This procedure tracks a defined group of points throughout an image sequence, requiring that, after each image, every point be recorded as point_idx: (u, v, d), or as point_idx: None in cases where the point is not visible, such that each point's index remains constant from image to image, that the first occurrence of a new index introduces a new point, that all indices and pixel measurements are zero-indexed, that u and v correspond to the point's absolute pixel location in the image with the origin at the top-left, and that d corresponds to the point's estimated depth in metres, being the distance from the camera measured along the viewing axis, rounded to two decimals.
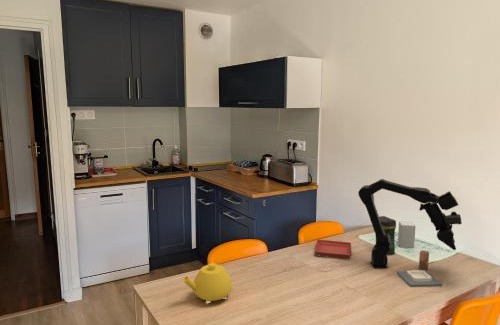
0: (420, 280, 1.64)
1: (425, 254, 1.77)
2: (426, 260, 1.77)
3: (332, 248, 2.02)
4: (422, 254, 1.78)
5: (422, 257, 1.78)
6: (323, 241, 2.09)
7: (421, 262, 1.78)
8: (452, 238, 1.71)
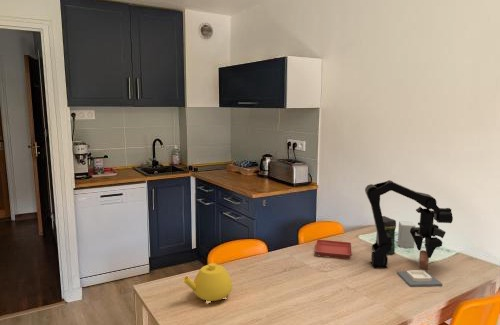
0: (420, 280, 1.64)
1: (425, 254, 1.77)
2: (426, 260, 1.77)
3: (332, 248, 2.02)
4: (422, 254, 1.78)
5: (422, 257, 1.78)
6: (323, 241, 2.09)
7: (421, 262, 1.78)
8: (420, 246, 1.83)
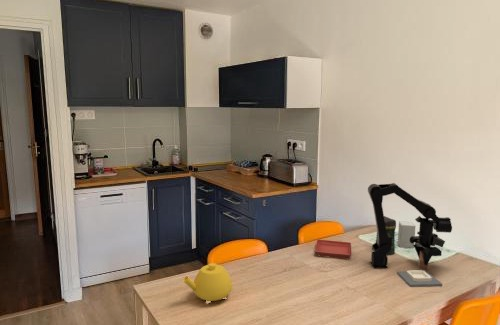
0: (420, 280, 1.64)
1: None
2: None
3: (332, 248, 2.02)
4: None
5: (422, 257, 1.78)
6: (323, 241, 2.09)
7: (421, 262, 1.78)
8: None
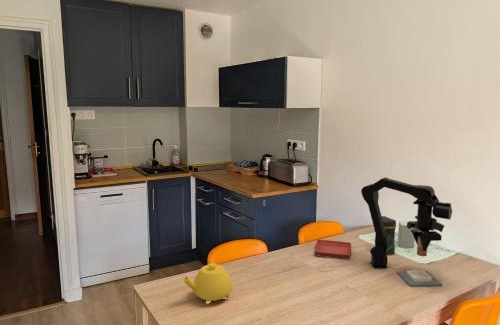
0: (420, 280, 1.64)
1: None
2: None
3: (332, 248, 2.02)
4: None
5: (420, 243, 1.67)
6: (323, 241, 2.09)
7: (419, 248, 1.68)
8: None
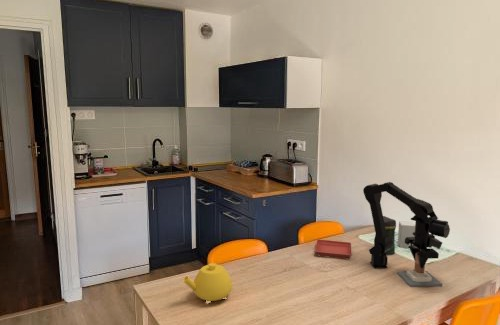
0: (420, 280, 1.64)
1: None
2: None
3: (332, 248, 2.02)
4: None
5: None
6: (323, 241, 2.09)
7: (417, 265, 1.66)
8: None
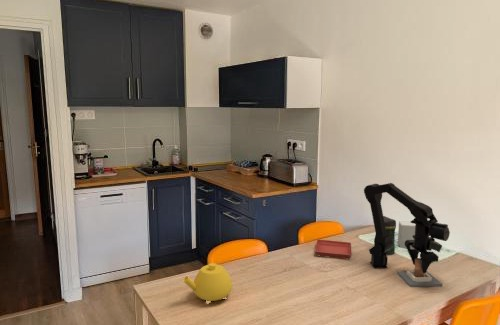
0: (420, 280, 1.64)
1: None
2: None
3: (332, 248, 2.02)
4: (417, 262, 1.66)
5: (417, 266, 1.66)
6: (323, 241, 2.09)
7: (416, 271, 1.66)
8: None
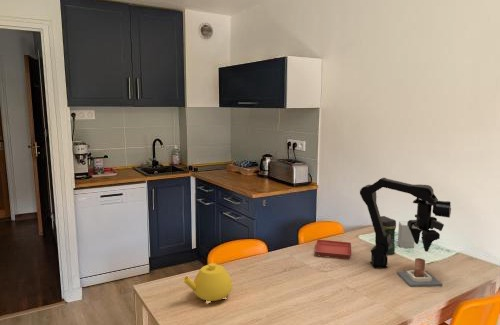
0: (420, 280, 1.64)
1: (421, 262, 1.65)
2: (422, 269, 1.65)
3: (332, 248, 2.02)
4: (418, 262, 1.66)
5: (418, 265, 1.66)
6: (323, 241, 2.09)
7: (416, 271, 1.66)
8: (418, 239, 1.75)
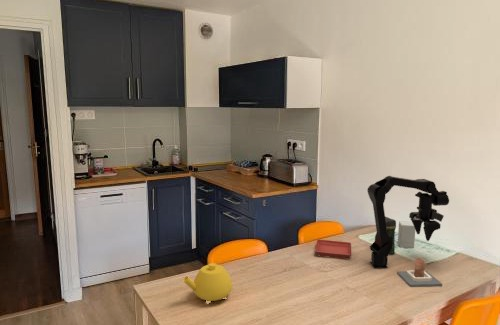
0: (420, 280, 1.64)
1: (421, 262, 1.65)
2: (422, 269, 1.65)
3: (332, 248, 2.02)
4: (417, 262, 1.66)
5: (417, 265, 1.66)
6: (323, 241, 2.09)
7: (416, 271, 1.66)
8: (419, 230, 1.88)
